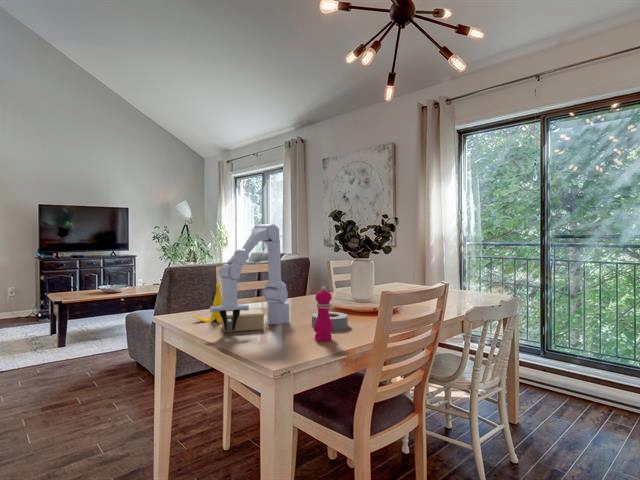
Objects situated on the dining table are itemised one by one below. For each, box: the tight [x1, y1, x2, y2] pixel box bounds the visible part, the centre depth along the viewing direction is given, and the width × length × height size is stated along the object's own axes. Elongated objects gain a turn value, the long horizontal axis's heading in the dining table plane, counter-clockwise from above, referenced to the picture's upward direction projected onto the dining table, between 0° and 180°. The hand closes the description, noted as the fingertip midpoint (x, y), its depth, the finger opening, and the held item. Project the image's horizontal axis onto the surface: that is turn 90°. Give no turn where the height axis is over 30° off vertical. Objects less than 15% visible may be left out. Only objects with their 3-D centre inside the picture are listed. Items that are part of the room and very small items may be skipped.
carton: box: [221, 308, 265, 332], centre depth 163 cm, size 16×10×7 cm, turn 107°
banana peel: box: [192, 283, 222, 324], centre depth 178 cm, size 17×19×17 cm
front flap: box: [223, 313, 265, 333], centre depth 155 cm, size 16×6×6 cm, turn 107°
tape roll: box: [311, 311, 349, 332], centre depth 167 cm, size 15×15×5 cm
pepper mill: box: [313, 285, 333, 343], centre depth 146 cm, size 7×7×20 cm
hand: (229, 329), depth 152 cm, fingers closed
